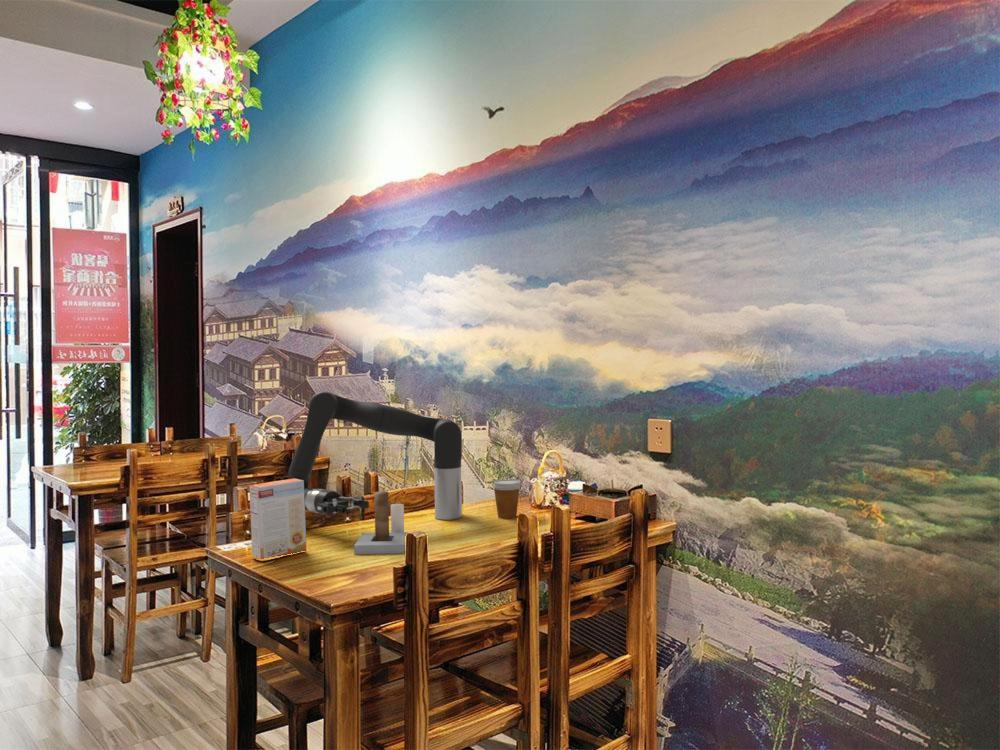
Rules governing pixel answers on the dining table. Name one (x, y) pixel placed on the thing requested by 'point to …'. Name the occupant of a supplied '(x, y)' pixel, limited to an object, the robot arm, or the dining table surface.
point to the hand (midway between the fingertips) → (357, 507)
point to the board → (380, 544)
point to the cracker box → (277, 518)
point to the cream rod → (397, 518)
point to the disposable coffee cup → (506, 497)
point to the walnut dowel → (381, 516)
